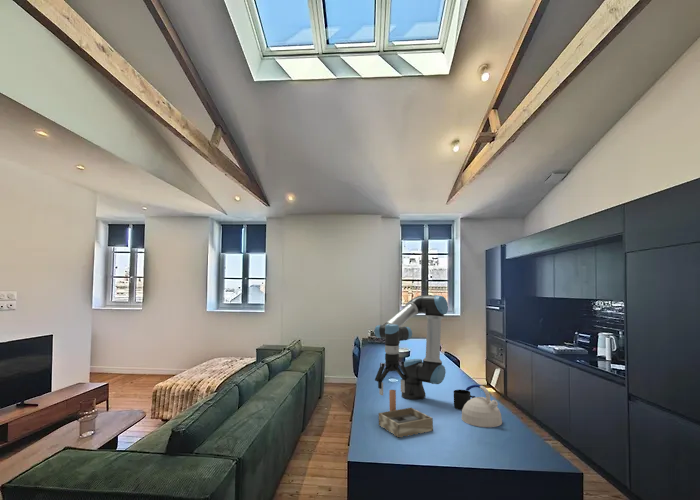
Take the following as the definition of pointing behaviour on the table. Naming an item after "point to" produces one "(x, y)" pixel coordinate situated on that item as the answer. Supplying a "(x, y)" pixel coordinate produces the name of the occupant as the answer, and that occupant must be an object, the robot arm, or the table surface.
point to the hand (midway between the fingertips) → (392, 393)
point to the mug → (461, 398)
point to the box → (405, 422)
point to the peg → (392, 399)
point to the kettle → (481, 410)
